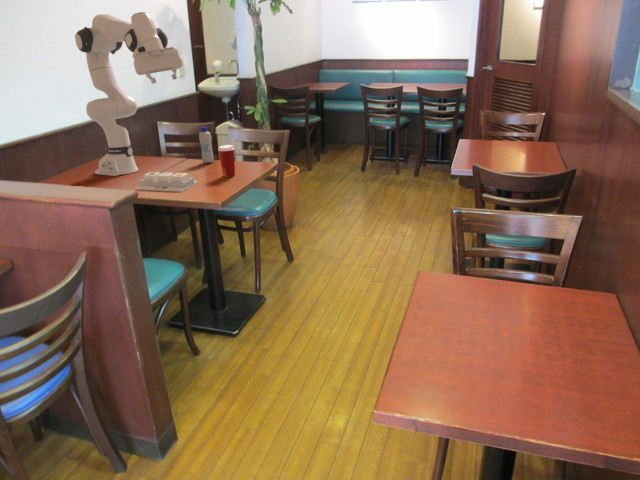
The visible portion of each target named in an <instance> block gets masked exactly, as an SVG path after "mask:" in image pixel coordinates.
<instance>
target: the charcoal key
mask: <svg viewBox="0 0 640 480" xmlns="http://www.w3.org/2000/svg"><path fill="white" fill-rule="evenodd" d="M160 174H162V173H161V172H159V171H156V172H155V171H149V172H147V173H146V174H143V176H144V177H143V179H145V181H156V180H158V175H160Z"/></svg>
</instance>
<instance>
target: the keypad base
mask: <svg viewBox="0 0 640 480" xmlns="http://www.w3.org/2000/svg"><path fill="white" fill-rule="evenodd" d="M197 184H198V180H195V178H194V177H189V180H187V181H185V182H173V181H172V180H171V181H169V182H166V181H159V180H156V181H145V178H143V179H140V180H139V185H140V186H138V187H136V190H137V191H154V192H155V191H157V192H174V193H175V192H176V193H183V192H184V191H187V190H188V189H190V188H192V187H193V186H195V185H197Z"/></svg>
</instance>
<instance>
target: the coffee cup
mask: <svg viewBox="0 0 640 480" xmlns="http://www.w3.org/2000/svg"><path fill="white" fill-rule="evenodd" d="M235 149H236V148H234V145H232V144H224V145H220V146H218V149H217V151H218V153H219V160H220V165H221V170H222V171H221V172H222V177H224V178H233V177H235V176H236V164H235V162H236V161H235Z"/></svg>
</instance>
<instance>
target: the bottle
mask: <svg viewBox="0 0 640 480" xmlns="http://www.w3.org/2000/svg"><path fill="white" fill-rule="evenodd" d="M200 131H201V132H199V134H198V137H199V139H198V140H199V144H200V150H201V159H202V162H203V164H211V163H213V162H214V153H213V146H212V136H211V132H210V131H208V128H207V127H206V126H201V128H200Z"/></svg>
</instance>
